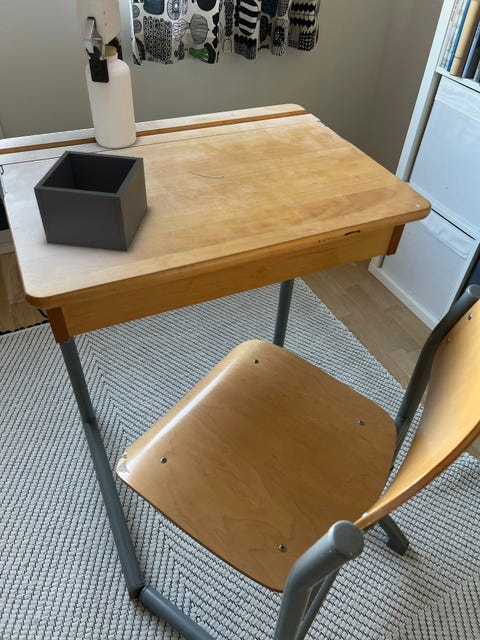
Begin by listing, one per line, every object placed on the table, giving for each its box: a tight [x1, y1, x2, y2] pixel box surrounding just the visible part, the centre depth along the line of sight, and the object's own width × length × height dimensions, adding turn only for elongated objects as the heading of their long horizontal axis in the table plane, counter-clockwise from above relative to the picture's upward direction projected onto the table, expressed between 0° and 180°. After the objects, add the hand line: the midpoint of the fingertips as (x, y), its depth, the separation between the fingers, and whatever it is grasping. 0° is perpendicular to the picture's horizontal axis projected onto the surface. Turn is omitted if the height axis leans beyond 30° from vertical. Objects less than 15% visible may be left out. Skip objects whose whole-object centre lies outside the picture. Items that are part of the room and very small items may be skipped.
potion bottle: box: [85, 45, 137, 149], centre depth 101 cm, size 8×8×18 cm
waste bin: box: [33, 150, 149, 253], centre depth 80 cm, size 13×13×10 cm
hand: (108, 73), depth 98 cm, fingers closed on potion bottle, 8 cm apart
